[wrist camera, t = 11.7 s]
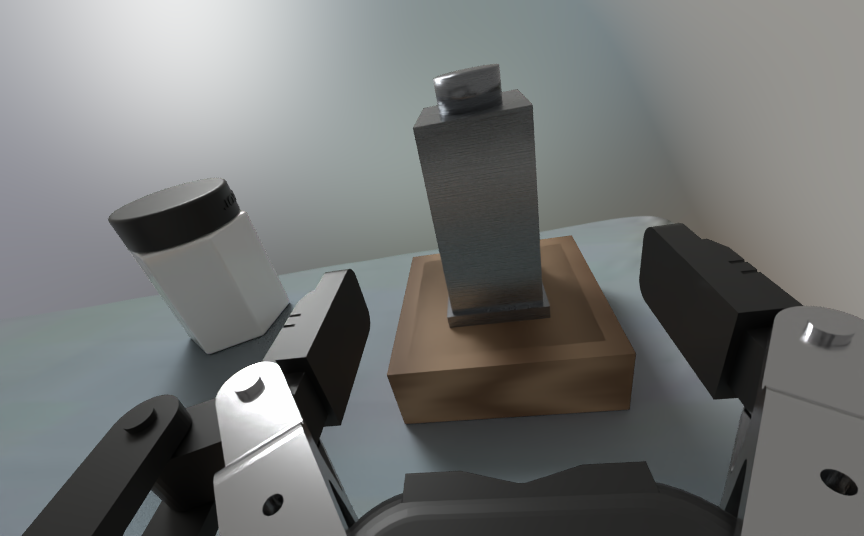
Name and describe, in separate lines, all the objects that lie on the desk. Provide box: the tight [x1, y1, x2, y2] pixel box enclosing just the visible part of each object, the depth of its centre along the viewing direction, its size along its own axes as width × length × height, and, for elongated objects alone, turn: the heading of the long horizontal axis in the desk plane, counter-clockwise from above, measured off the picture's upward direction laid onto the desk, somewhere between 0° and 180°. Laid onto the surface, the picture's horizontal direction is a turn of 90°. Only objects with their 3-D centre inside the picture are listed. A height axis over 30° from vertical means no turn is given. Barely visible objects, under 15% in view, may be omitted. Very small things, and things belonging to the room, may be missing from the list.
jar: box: [108, 178, 290, 354], centre depth 31 cm, size 9×8×12 cm
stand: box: [387, 235, 636, 424], centre depth 24 cm, size 12×12×4 cm
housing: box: [413, 64, 550, 328], centre depth 20 cm, size 6×6×12 cm
